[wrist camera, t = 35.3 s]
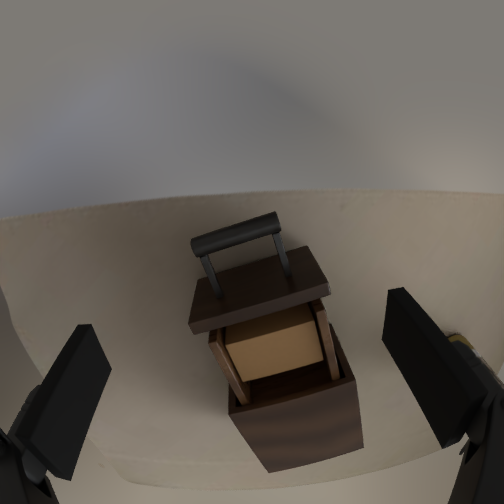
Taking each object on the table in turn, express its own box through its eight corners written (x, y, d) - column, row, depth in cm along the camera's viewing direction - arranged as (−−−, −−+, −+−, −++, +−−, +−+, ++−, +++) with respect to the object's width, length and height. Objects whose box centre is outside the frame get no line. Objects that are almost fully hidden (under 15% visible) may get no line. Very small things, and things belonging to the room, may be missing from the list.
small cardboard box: (241, 347, 33) (242, 382, 28) (226, 311, 32) (224, 345, 26) (312, 327, 33) (323, 360, 28) (302, 288, 31) (314, 320, 26)
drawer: (176, 229, 29) (157, 262, 22) (292, 190, 28) (311, 213, 21) (240, 371, 36) (242, 421, 29) (331, 345, 35) (349, 391, 28)
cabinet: (228, 353, 36) (228, 414, 27) (331, 323, 35) (355, 379, 26) (263, 420, 42) (268, 473, 33) (345, 396, 41) (363, 447, 32)
